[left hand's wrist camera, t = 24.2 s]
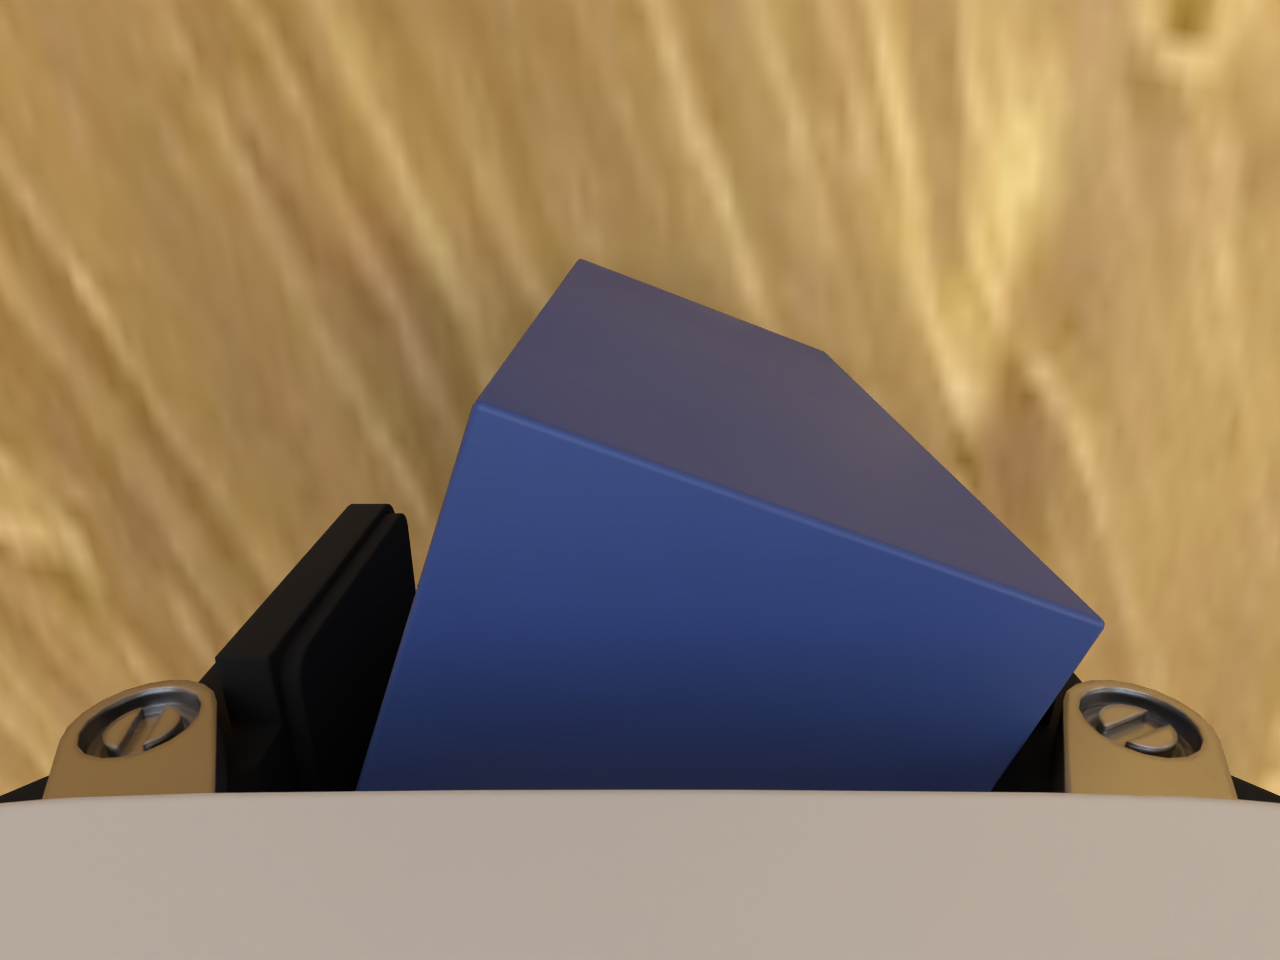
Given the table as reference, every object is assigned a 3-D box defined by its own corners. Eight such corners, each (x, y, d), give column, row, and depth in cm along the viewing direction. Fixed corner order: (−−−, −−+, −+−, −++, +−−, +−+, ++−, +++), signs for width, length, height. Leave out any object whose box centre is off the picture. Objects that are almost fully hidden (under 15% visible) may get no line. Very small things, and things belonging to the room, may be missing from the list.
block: (826, 352, 16) (1111, 624, 6) (688, 646, 18) (741, 1155, 9) (578, 257, 15) (472, 399, 5) (472, 577, 17) (276, 1048, 8)
